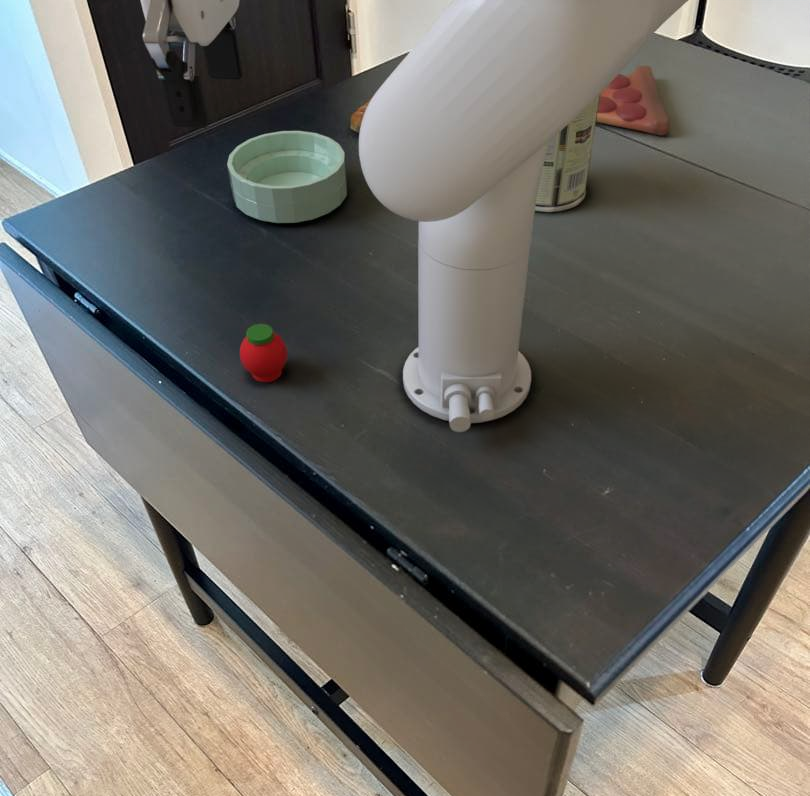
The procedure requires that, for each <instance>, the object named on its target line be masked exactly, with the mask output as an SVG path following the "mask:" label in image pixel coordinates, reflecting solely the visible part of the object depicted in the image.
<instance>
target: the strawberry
mask: <svg viewBox="0 0 810 796" xmlns="http://www.w3.org/2000/svg"><path fill="white" fill-rule="evenodd" d="M239 347H240V348H239V358H240V362H241V363H242V365H243V367H244V368H245V370H247V372H248V373H250V374H251V376H252V378H253V379H254V380H256V382H260V383H270V382H274V381H276V380H278V378H280V377H281V376H282V372H283V369H284V367H285V365H286V362H287V359H288V349H287V346H286V344H285V341H284V340H283V339H282V338H281V336H280V335H279V334H277V333H276V332H275V331H274V329H273V327H272V326H271V325H268V324H266V323H256V324H253V325H251V326H250V327H248V328H247V329H246V331H245V337H244V338H243V340H242V342H241V344H240V346H239Z"/></svg>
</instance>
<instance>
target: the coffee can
mask: <svg viewBox="0 0 810 796" xmlns="http://www.w3.org/2000/svg"><path fill="white" fill-rule="evenodd" d="M599 100H600V94H599V95H598V96H597V97H596V98H595V99H594V101H593V102H592V103H591V104H590V105H588V106H587V107H586V108H585V109H584V110H583V111H582V112H581V113H580V114H579V115H578V116H577V117H576V118H575V119H574V120H572V121H571V122H570V123H569V124H568V125H567V126H566V127H565V128H564V129H562V130H561V131H560V132H559V133H558V134H557V135H555V136H554V137H553V138H552V139H551V140H550V141H549V145H548V149H547V153H546V157H545V161H544V165H543V169H542V174H541V178H540V183H539V188H538V194H537V200H536V206H535V212H540V213H555V212H562V211H563V212H564V211H567V210H569V209H573V208H574V207H576V206H578V205H579V204H580V203H582V202H583V200H584V199H585V197H586V194H587V190H586V188H587V183H588V176H589V172H590V171H589V170H590V163H591V158H592V151H593V144H594V137H595V131H596V125H597V122H596V120H597V113H598V107H599Z"/></svg>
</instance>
